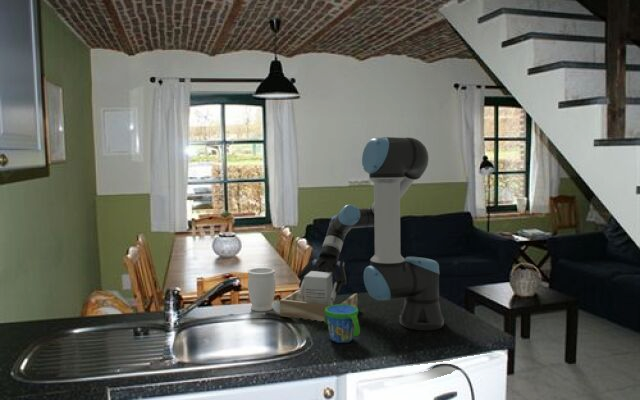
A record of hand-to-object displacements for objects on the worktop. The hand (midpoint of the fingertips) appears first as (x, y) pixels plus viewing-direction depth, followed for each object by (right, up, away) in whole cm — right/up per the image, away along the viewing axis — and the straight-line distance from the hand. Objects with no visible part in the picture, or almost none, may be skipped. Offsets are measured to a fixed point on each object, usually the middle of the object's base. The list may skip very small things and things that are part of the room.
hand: (316, 297), depth 191 cm
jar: (-21, -6, +9) cm, 24 cm away
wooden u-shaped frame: (+1, -6, +3) cm, 7 cm away
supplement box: (+1, -6, +3) cm, 7 cm away
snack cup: (+8, -9, -25) cm, 28 cm away
